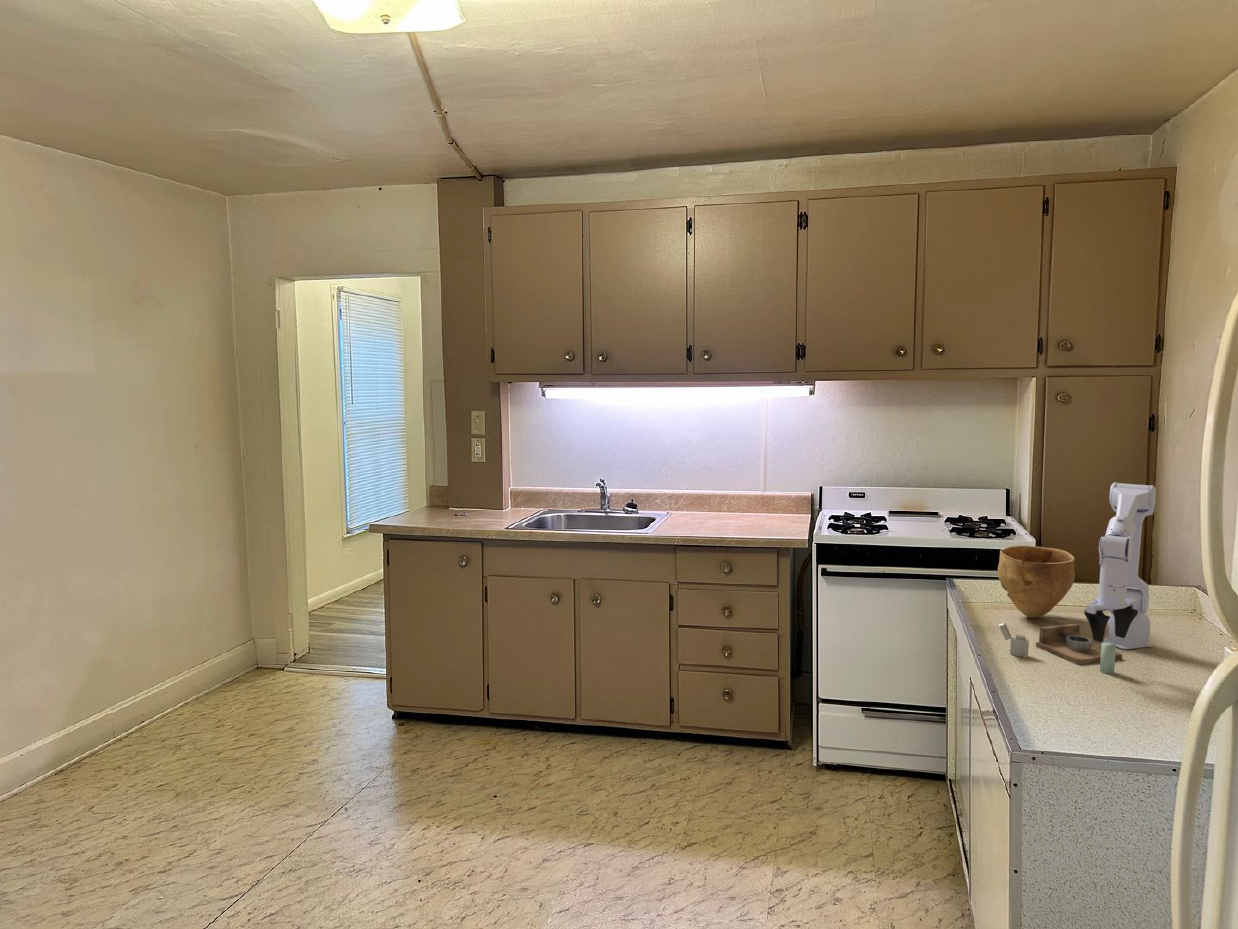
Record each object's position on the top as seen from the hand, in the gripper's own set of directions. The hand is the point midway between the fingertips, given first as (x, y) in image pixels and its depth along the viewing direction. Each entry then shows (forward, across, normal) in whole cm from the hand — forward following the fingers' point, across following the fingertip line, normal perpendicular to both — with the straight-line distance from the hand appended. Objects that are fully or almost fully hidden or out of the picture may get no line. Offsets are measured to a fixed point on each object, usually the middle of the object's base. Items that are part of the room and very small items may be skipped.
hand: (1109, 638), depth 203 cm
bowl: (+8, -19, -39) cm, 45 cm away
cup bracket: (+8, -5, -13) cm, 16 cm away
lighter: (+9, +11, -18) cm, 23 cm away
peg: (+8, 0, 0) cm, 8 cm away
